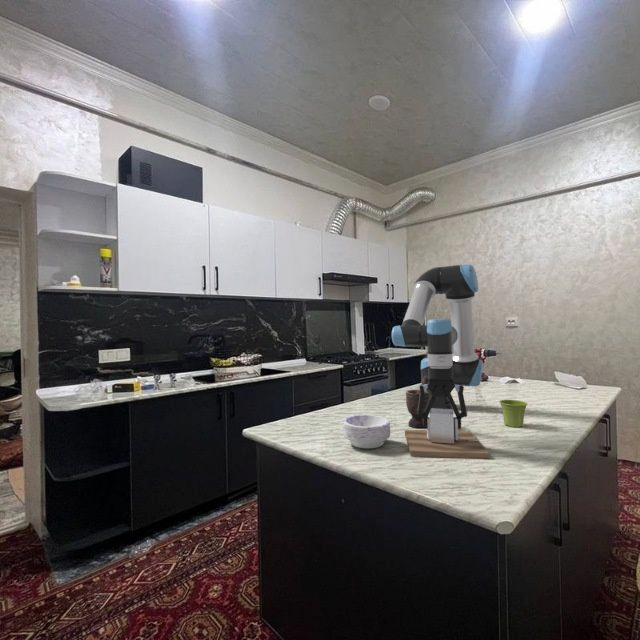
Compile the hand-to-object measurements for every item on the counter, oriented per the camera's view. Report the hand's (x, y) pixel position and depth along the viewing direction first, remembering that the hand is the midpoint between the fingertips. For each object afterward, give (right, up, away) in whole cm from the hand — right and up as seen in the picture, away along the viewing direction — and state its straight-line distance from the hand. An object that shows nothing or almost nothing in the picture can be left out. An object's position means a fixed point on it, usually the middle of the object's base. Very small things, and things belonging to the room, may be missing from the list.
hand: (442, 438), depth 118 cm
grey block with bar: (+1, 0, +2) cm, 2 cm away
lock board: (0, -2, 0) cm, 2 cm away
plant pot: (+33, -2, +20) cm, 39 cm away
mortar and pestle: (-1, -3, +21) cm, 22 cm away
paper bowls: (-24, -3, +3) cm, 24 cm away
